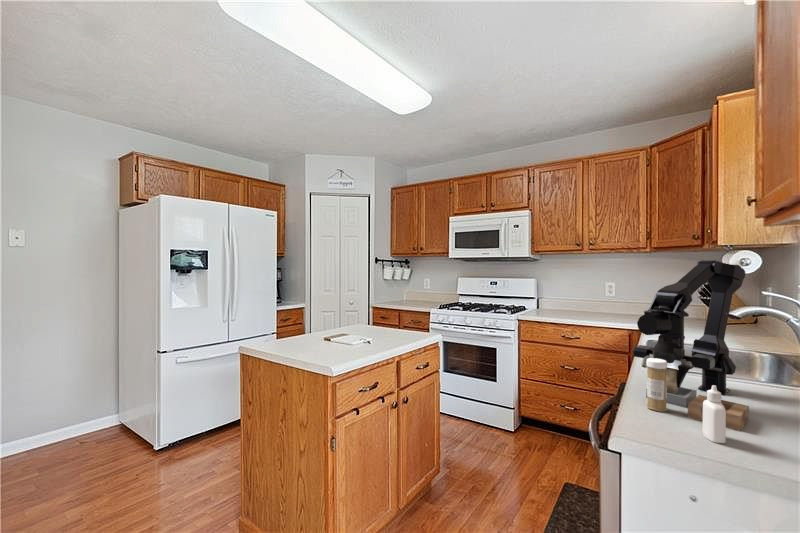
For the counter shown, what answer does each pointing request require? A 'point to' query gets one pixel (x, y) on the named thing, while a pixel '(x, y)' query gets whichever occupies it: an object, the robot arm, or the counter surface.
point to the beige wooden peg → (671, 380)
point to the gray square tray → (681, 397)
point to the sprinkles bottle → (656, 384)
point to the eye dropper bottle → (714, 417)
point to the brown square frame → (734, 411)
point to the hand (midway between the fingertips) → (671, 385)
